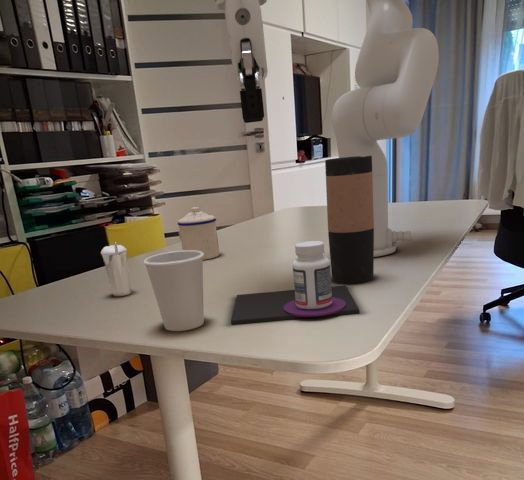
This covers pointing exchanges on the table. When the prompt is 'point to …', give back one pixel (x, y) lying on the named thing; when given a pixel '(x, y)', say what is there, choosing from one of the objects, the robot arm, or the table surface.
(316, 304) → the pill bottle
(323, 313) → the placemat
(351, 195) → the travel mug
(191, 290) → the dixie cup
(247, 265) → the table surface
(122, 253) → the milkshake
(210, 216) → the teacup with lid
